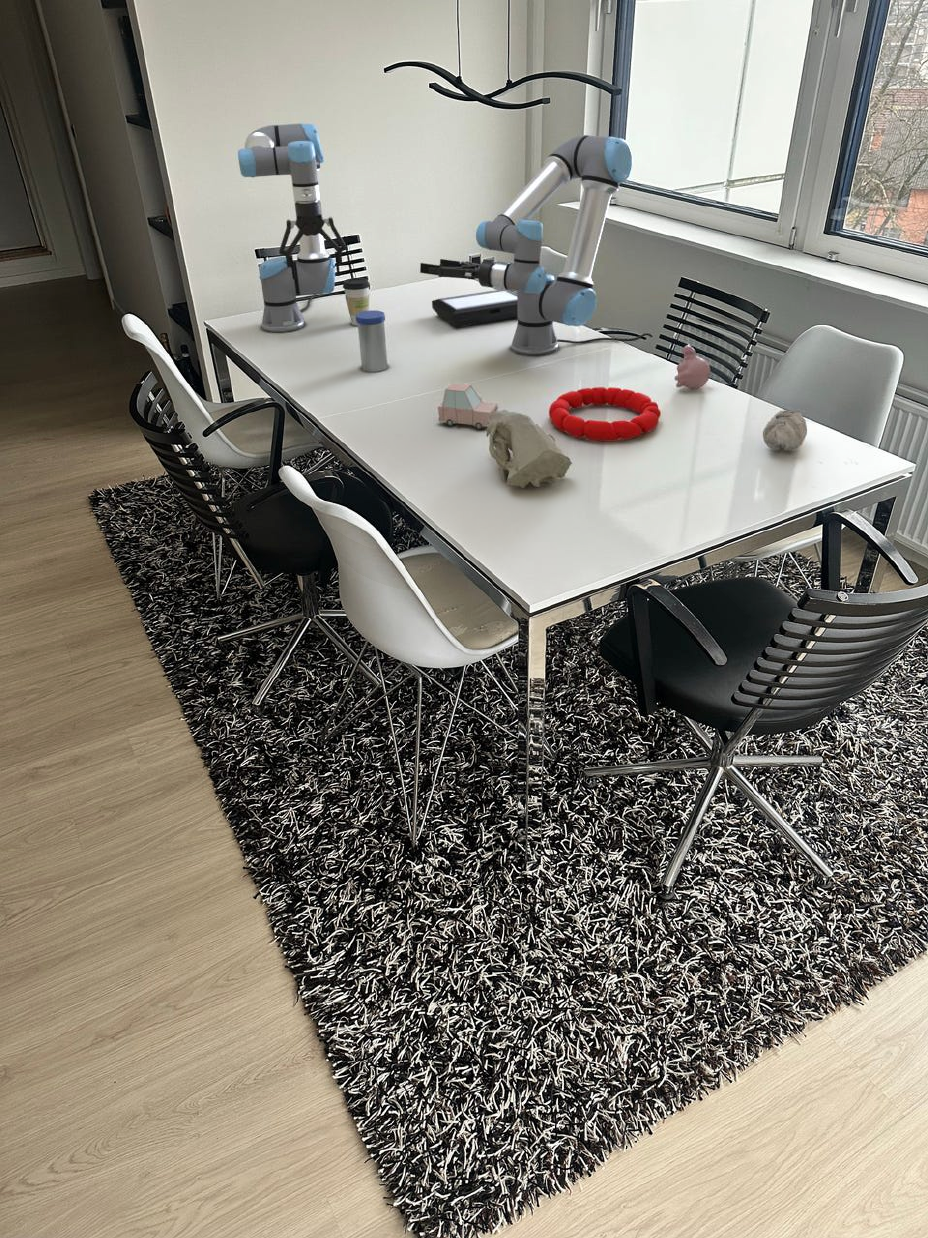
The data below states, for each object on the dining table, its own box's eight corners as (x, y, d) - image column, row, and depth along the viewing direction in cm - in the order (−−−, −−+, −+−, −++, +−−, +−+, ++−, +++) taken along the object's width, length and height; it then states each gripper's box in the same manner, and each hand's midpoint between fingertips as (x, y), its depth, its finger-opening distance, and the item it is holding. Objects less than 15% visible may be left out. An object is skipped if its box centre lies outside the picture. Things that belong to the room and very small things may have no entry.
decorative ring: (589, 435, 224) (684, 402, 234) (527, 398, 247) (617, 369, 256) (589, 461, 229) (683, 427, 238) (529, 422, 251) (617, 393, 260)
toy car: (488, 432, 240) (488, 396, 234) (436, 426, 244) (434, 390, 239) (499, 419, 247) (499, 384, 241) (448, 413, 252) (447, 379, 246)
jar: (392, 368, 285) (388, 316, 276) (370, 373, 282) (365, 321, 272) (379, 361, 291) (374, 310, 282) (357, 367, 287) (352, 315, 278)
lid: (390, 320, 277) (390, 314, 276) (365, 326, 273) (364, 320, 272) (375, 314, 283) (375, 308, 282) (350, 320, 279) (350, 314, 278)
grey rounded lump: (746, 448, 227) (752, 410, 221) (789, 435, 232) (796, 398, 227) (776, 462, 219) (783, 424, 213) (820, 449, 225) (828, 411, 219)
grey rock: (496, 517, 219) (521, 479, 201) (463, 429, 225) (484, 384, 207) (557, 503, 225) (586, 465, 206) (523, 417, 231) (549, 373, 212)
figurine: (665, 387, 264) (669, 347, 257) (693, 380, 268) (698, 340, 261) (686, 396, 257) (690, 355, 250) (714, 388, 262) (720, 348, 255)
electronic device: (453, 311, 314) (431, 298, 329) (454, 329, 317) (432, 315, 332) (533, 299, 324) (509, 286, 339) (533, 316, 327) (509, 303, 342)
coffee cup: (372, 326, 323) (368, 283, 314) (345, 327, 323) (340, 284, 315) (374, 318, 331) (371, 276, 322) (348, 319, 331) (344, 277, 323)
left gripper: (264, 205, 256) (275, 282, 268) (350, 200, 259) (357, 276, 271) (264, 201, 262) (275, 276, 274) (349, 196, 265) (356, 270, 277)
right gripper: (477, 292, 256) (411, 283, 263) (509, 283, 277) (447, 274, 284) (479, 264, 253) (412, 255, 260) (511, 257, 273) (448, 249, 280)
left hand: (316, 276), depth 273 cm, fingers open, 13 cm apart
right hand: (430, 265), depth 272 cm, fingers open, 13 cm apart
